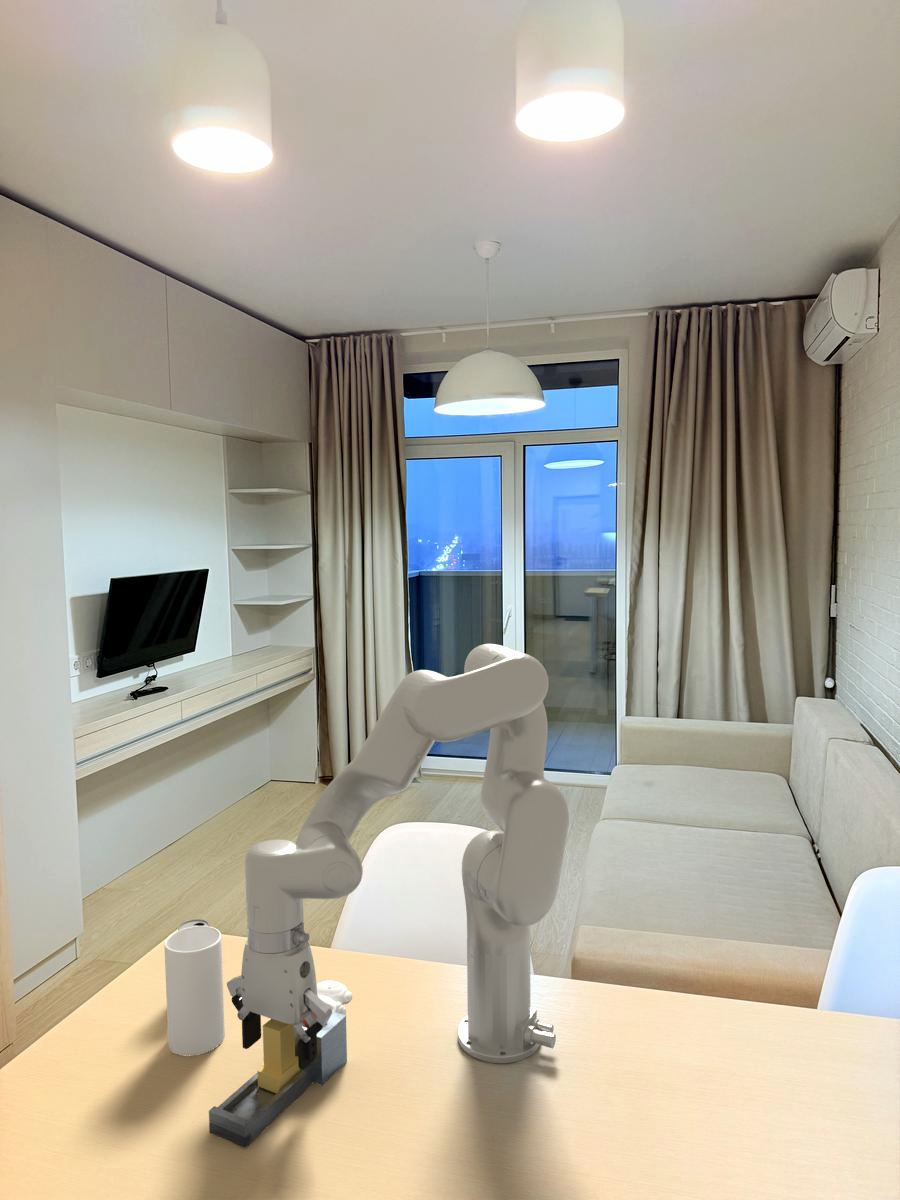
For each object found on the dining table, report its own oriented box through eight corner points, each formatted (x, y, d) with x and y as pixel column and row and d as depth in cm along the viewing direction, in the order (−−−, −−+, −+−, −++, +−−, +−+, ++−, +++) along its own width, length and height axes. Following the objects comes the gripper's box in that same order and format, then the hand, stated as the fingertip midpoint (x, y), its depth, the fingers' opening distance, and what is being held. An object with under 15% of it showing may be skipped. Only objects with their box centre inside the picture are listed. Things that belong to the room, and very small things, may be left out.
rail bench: (347, 1061, 121) (346, 1015, 121) (254, 1152, 104) (253, 1099, 103) (297, 1044, 126) (296, 999, 125) (200, 1129, 108) (198, 1077, 107)
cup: (208, 1059, 122) (204, 954, 121) (157, 1052, 124) (153, 949, 123) (234, 1026, 130) (230, 928, 129) (185, 1020, 132) (182, 923, 131)
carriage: (301, 1072, 116) (300, 1016, 116) (278, 1094, 112) (277, 1036, 111) (281, 1065, 118) (279, 1010, 117) (257, 1086, 114) (256, 1029, 113)
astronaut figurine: (281, 1026, 131) (280, 1007, 131) (314, 986, 142) (314, 969, 142) (332, 1034, 128) (332, 1016, 128) (362, 993, 140) (362, 975, 140)
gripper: (344, 935, 113) (347, 1055, 114) (245, 909, 121) (249, 1022, 122) (310, 961, 106) (313, 1088, 107) (208, 931, 114) (212, 1050, 115)
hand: (279, 1053), depth 115 cm, fingers open, 9 cm apart
